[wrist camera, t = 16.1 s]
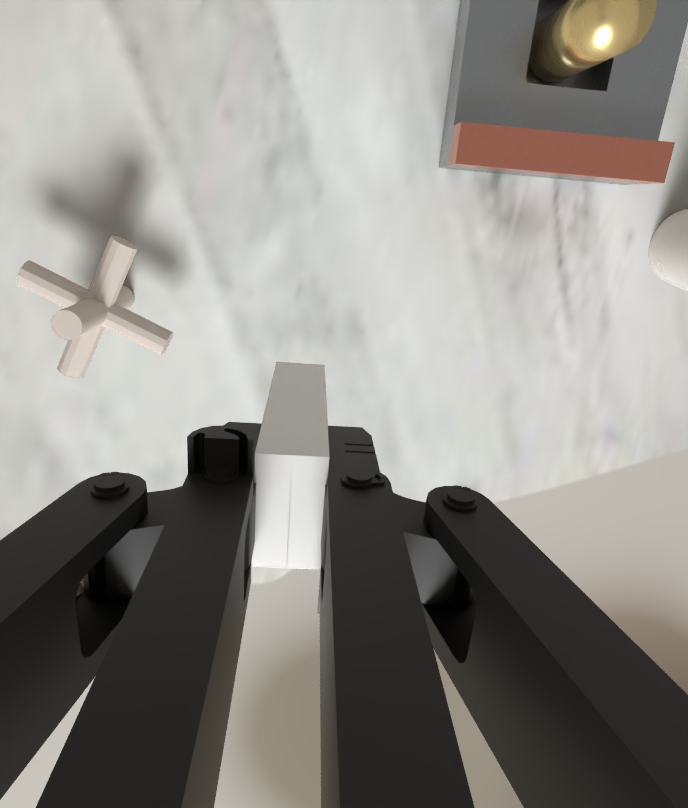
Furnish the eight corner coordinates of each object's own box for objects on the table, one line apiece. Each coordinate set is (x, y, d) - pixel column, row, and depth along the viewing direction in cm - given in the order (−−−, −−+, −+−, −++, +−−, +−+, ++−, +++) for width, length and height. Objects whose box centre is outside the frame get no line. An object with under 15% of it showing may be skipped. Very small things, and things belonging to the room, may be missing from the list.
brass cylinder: (521, 78, 38) (575, 48, 30) (534, 9, 36) (594, -41, 29) (577, 85, 38) (643, 58, 30) (592, 17, 37) (666, -29, 29)
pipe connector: (35, 322, 42) (-45, 358, 33) (81, 202, 39) (8, 203, 30) (158, 381, 44) (116, 430, 35) (210, 271, 41) (179, 292, 32)
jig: (474, -111, 34) (500, -160, 30) (688, -84, 35) (745, -127, 31) (438, 167, 40) (455, 163, 35) (624, 184, 41) (664, 182, 36)
